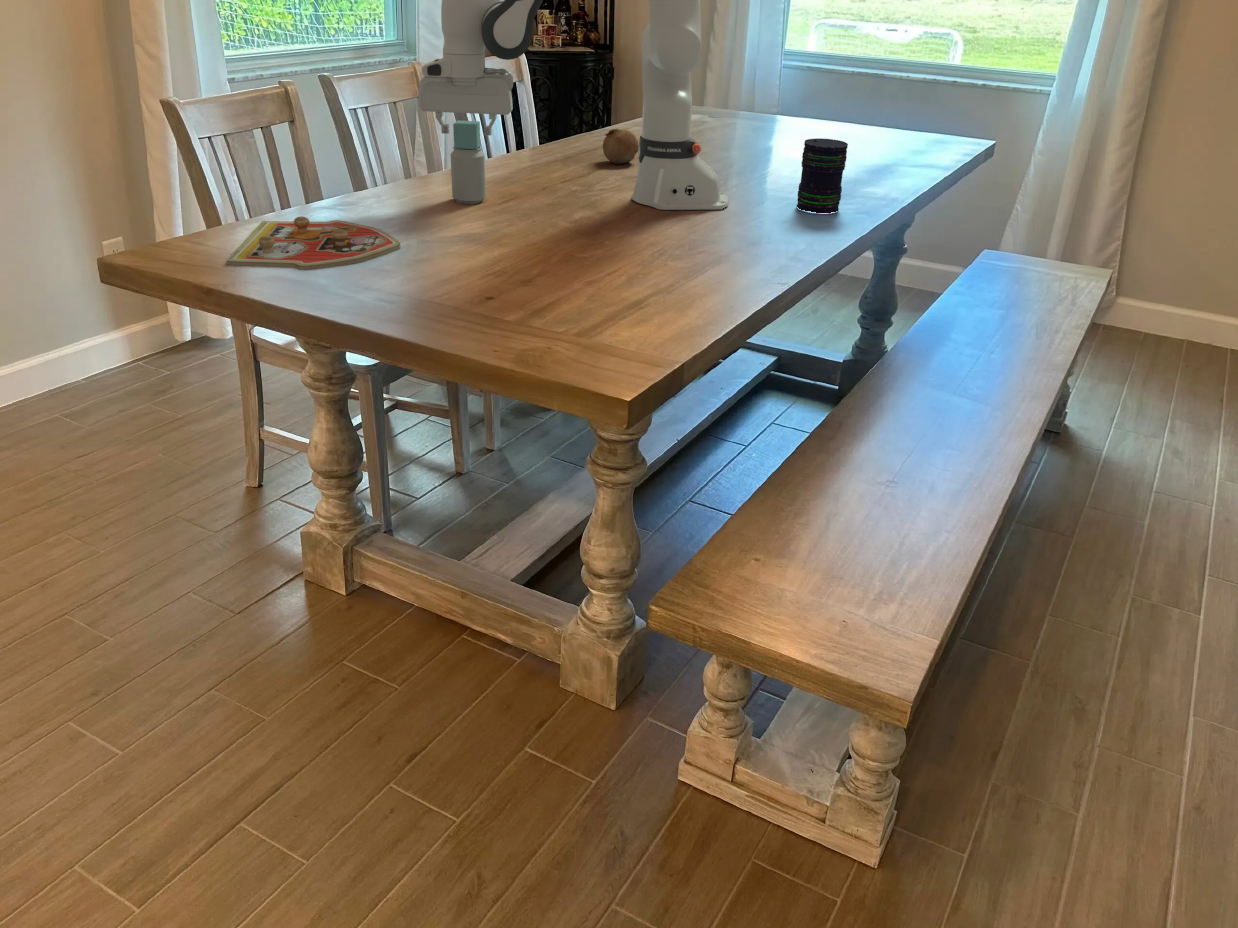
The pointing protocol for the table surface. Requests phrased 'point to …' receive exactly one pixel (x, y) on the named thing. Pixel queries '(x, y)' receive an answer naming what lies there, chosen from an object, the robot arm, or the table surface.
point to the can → (468, 175)
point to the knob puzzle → (312, 244)
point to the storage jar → (822, 175)
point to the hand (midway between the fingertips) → (466, 134)
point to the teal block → (466, 134)
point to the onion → (620, 146)
